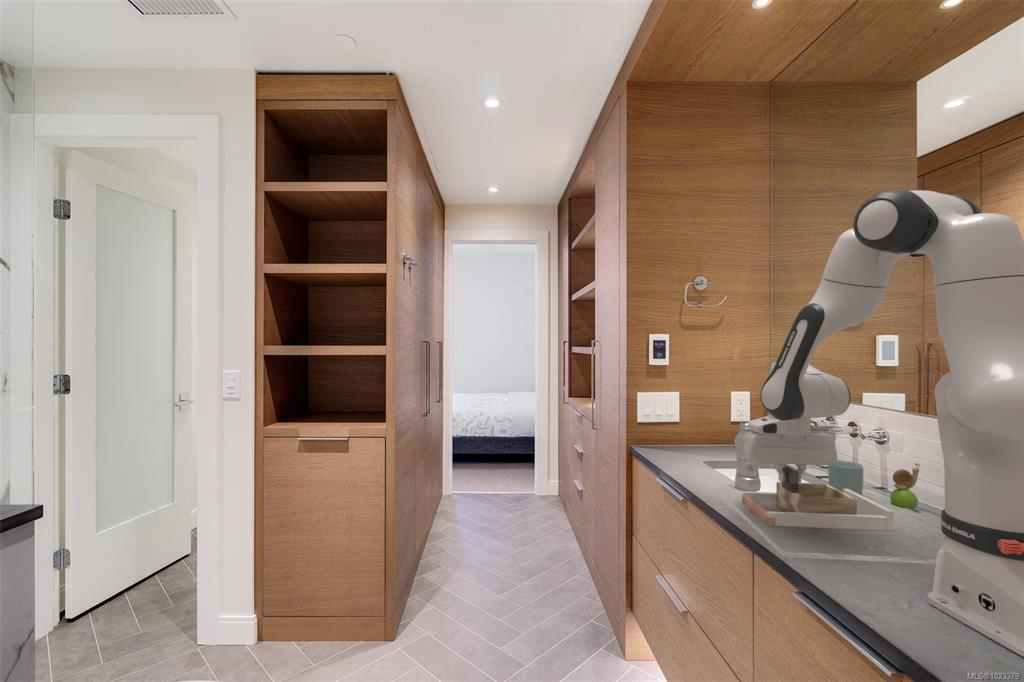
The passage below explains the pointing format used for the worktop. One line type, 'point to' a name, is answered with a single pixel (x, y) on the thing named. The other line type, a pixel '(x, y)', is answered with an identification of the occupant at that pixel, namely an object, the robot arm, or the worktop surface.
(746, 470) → the plastic bottle
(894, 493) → the snail figurine
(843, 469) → the cup
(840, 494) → the drawer
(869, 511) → the white tray
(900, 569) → the worktop surface
